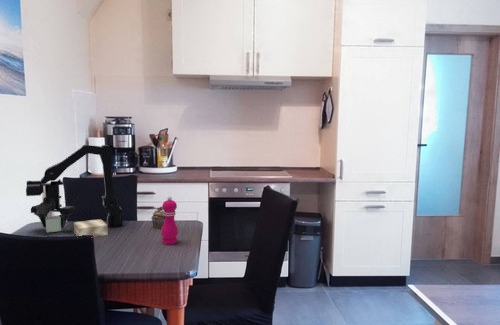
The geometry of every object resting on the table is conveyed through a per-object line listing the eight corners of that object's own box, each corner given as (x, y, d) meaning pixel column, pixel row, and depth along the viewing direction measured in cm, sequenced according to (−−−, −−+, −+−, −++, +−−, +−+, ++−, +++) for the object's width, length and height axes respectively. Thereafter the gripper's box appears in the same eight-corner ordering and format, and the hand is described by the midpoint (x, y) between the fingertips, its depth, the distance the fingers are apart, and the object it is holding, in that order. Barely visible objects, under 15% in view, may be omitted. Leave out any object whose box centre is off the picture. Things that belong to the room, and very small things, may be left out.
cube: (60, 227, 178) (59, 215, 178) (61, 230, 173) (61, 218, 173) (45, 229, 175) (45, 216, 175) (46, 232, 170) (46, 219, 170)
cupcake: (173, 224, 190) (173, 205, 189) (168, 229, 180) (168, 209, 179) (155, 223, 190) (155, 204, 189) (148, 229, 181) (148, 208, 180)
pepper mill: (180, 240, 165) (180, 195, 163) (175, 245, 158) (175, 198, 156) (164, 239, 166) (164, 194, 164) (158, 244, 158) (158, 197, 156)
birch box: (101, 229, 180) (100, 219, 180) (107, 235, 170) (107, 224, 170) (73, 233, 173) (73, 222, 173) (79, 239, 163) (78, 228, 163)
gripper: (21, 197, 166) (22, 231, 167) (60, 199, 163) (61, 234, 165) (38, 192, 177) (39, 224, 178) (75, 194, 174) (76, 227, 176)
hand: (53, 227), depth 174 cm, fingers closed on cube, 8 cm apart
